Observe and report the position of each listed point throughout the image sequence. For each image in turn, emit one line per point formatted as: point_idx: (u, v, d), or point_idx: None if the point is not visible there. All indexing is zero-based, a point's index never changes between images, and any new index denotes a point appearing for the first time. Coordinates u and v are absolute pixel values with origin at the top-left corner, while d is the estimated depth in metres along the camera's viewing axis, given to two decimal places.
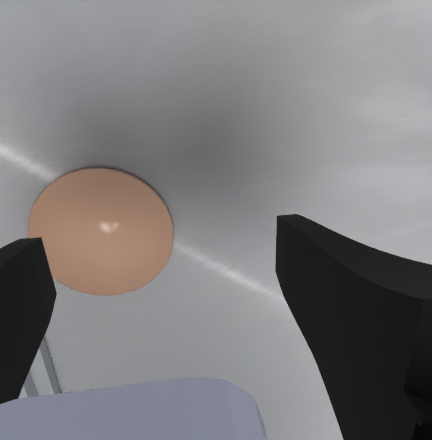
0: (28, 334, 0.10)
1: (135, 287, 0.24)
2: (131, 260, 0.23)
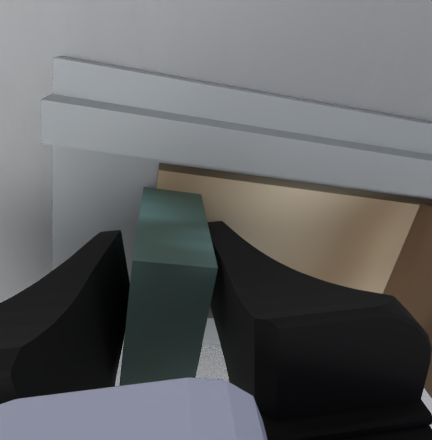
0: (118, 324, 0.10)
1: None
2: None
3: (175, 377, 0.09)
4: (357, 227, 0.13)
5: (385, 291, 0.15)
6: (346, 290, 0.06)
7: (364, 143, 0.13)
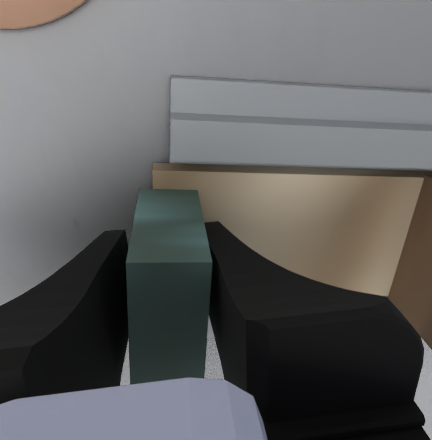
0: (122, 323, 0.10)
1: None
2: None
3: (184, 374, 0.09)
4: (361, 207, 0.13)
5: (398, 269, 0.14)
6: (339, 291, 0.06)
7: None
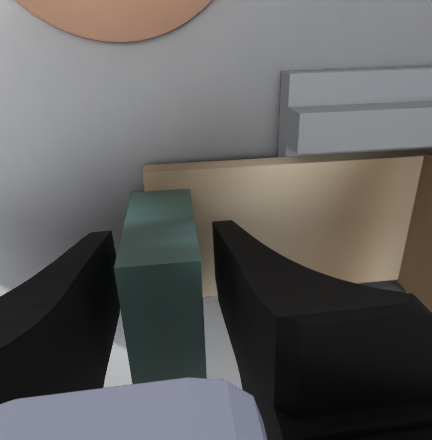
0: (107, 325, 0.10)
1: None
2: None
3: (186, 374, 0.09)
4: (358, 192, 0.13)
5: (405, 252, 0.14)
6: (363, 288, 0.06)
7: None
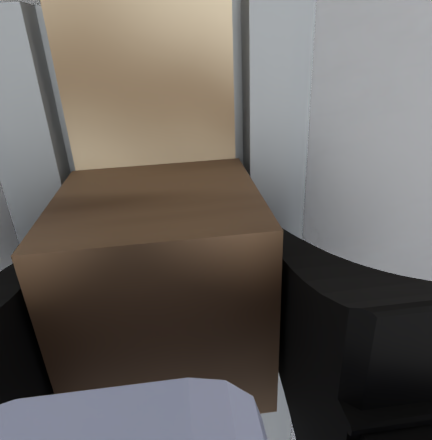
0: None
1: None
2: None
3: None
4: (194, 90, 0.11)
5: (116, 170, 0.12)
6: (421, 282, 0.06)
7: None
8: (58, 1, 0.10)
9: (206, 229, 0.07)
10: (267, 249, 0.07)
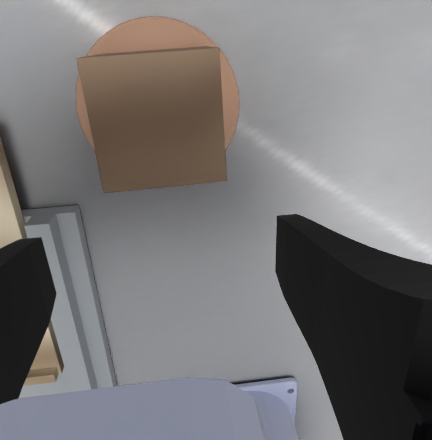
0: (28, 334, 0.10)
1: None
2: None
3: None
4: None
5: None
6: None
7: (90, 357, 0.25)
8: None
9: (179, 50, 0.14)
10: (211, 60, 0.14)
